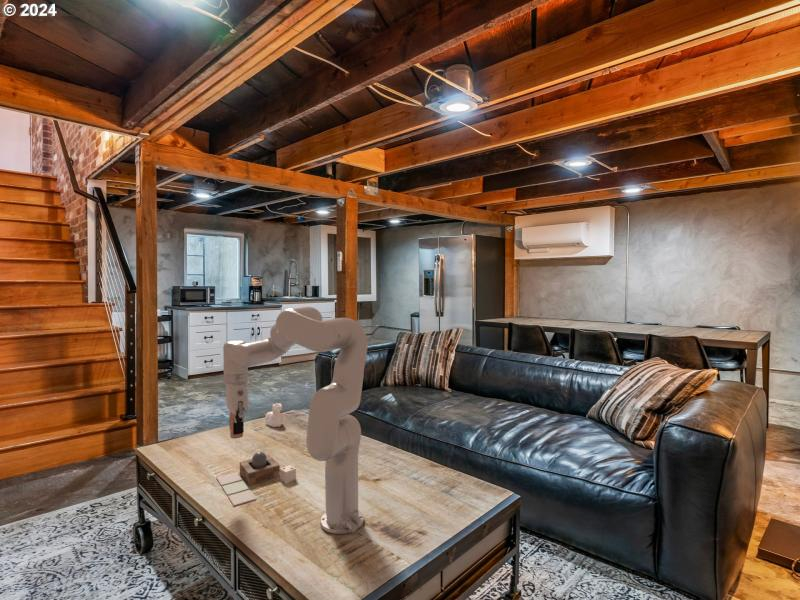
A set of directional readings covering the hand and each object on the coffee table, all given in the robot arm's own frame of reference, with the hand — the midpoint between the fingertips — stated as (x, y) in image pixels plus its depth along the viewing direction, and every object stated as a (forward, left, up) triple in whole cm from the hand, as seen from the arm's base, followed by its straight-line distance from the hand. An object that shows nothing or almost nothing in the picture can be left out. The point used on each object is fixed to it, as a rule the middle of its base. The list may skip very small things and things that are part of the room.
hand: (236, 430), depth 146 cm
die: (-3, -16, -20) cm, 26 cm away
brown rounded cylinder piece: (0, 0, -2) cm, 2 cm away
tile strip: (+1, +1, -20) cm, 20 cm away
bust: (+54, -32, -20) cm, 66 cm away
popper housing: (+6, -9, -20) cm, 23 cm away
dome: (+6, -9, -18) cm, 21 cm away
